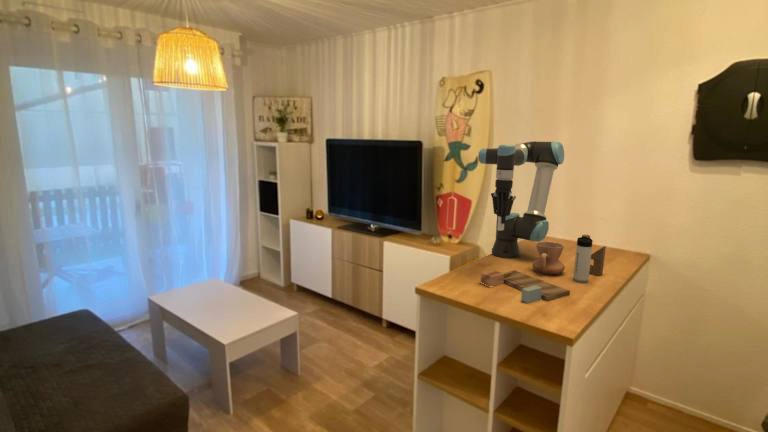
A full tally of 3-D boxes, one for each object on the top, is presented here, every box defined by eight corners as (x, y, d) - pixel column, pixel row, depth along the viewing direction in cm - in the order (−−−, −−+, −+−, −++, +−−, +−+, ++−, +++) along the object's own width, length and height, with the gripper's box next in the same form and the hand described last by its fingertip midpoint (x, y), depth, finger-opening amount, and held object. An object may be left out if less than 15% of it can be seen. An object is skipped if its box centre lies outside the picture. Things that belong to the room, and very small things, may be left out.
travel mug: (587, 278, 188) (591, 237, 185) (589, 283, 182) (593, 240, 178) (572, 277, 190) (576, 235, 187) (573, 281, 184) (578, 239, 180)
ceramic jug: (539, 264, 209) (541, 238, 206) (569, 270, 199) (571, 242, 196) (525, 274, 196) (527, 245, 193) (556, 280, 186) (558, 251, 183)
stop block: (521, 300, 163) (522, 288, 162) (534, 296, 167) (535, 285, 166) (527, 303, 160) (528, 291, 159) (541, 299, 164) (542, 287, 163)
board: (492, 278, 188) (493, 274, 187) (514, 273, 195) (514, 270, 194) (547, 301, 162) (547, 296, 162) (569, 294, 169) (570, 290, 169)
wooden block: (599, 276, 192) (604, 239, 189) (576, 270, 200) (580, 235, 197) (602, 274, 195) (607, 238, 191) (579, 269, 203) (583, 234, 199)
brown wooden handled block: (480, 283, 182) (481, 272, 181) (505, 277, 190) (506, 267, 189) (490, 287, 177) (491, 276, 176) (515, 281, 185) (516, 270, 184)
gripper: (487, 178, 188) (484, 228, 192) (509, 180, 177) (505, 233, 181) (499, 177, 192) (495, 226, 196) (521, 180, 181) (517, 232, 185)
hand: (500, 230), depth 188 cm, fingers closed
